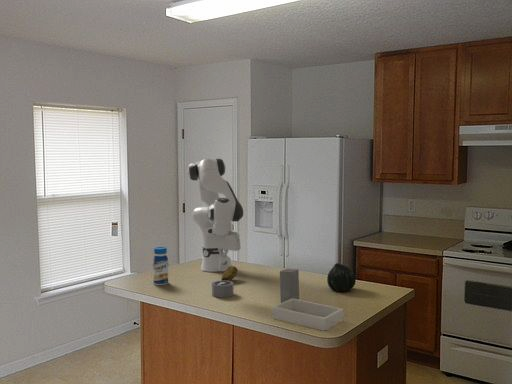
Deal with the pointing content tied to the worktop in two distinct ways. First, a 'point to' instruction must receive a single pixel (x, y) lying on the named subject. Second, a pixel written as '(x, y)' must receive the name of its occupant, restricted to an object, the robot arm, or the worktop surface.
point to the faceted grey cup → (222, 289)
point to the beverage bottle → (160, 266)
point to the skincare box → (289, 284)
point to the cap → (222, 283)
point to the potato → (229, 273)
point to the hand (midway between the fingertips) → (223, 257)
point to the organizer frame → (286, 314)
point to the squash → (341, 278)
